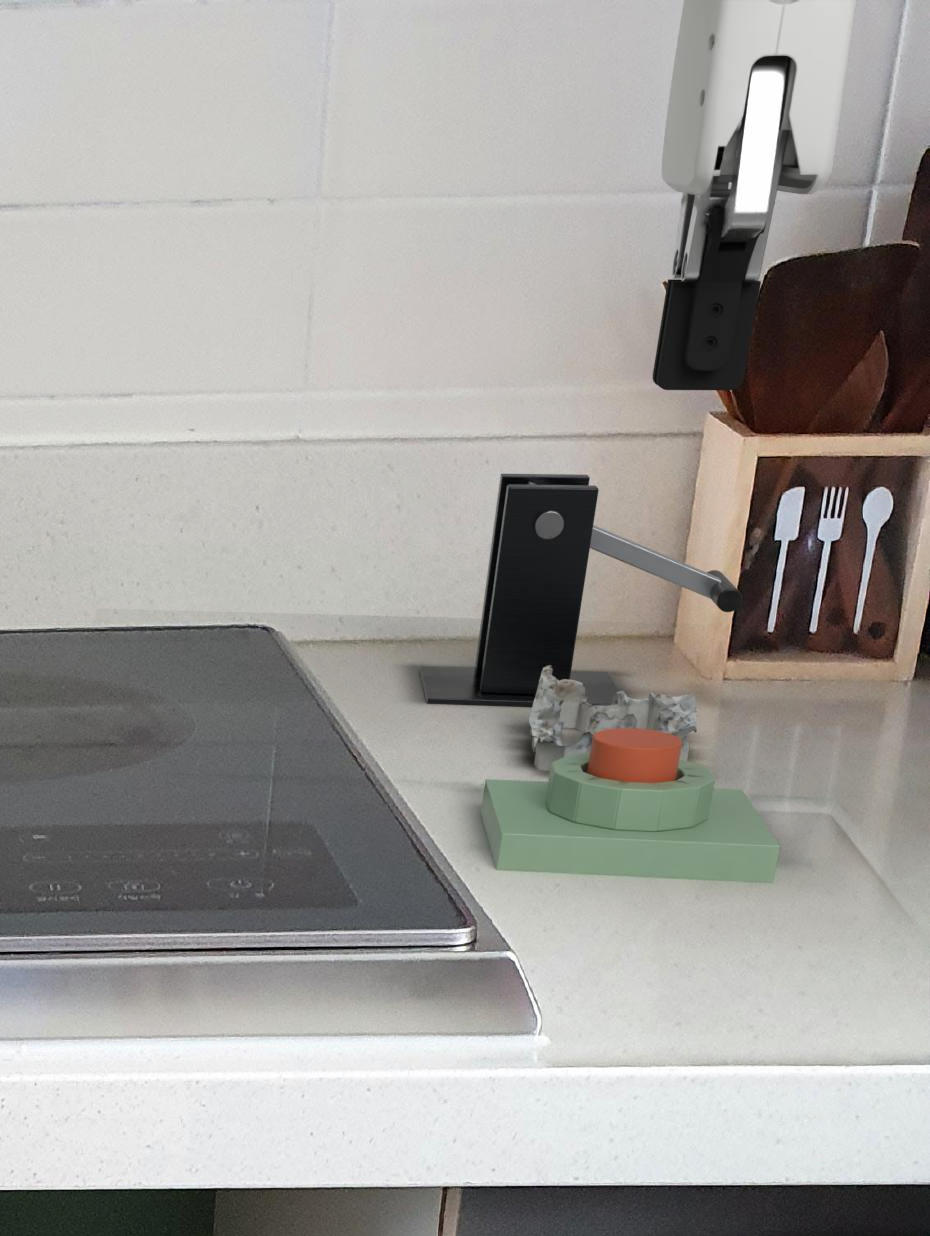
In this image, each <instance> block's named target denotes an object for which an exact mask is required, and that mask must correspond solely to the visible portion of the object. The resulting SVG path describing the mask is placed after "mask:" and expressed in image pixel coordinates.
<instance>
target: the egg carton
mask: <svg viewBox="0 0 930 1236" xmlns="http://www.w3.org/2000/svg"><path fill="white" fill-rule="evenodd" d="M552 672H553V669H552V668H551V665H549V666H548V665H547V666H545V667H544V668H543V670H542V672H541V676H540V680H539V684H538V689H537V692H536V696H535V699H534V702H533V706H532V707H531V711H530V714H529V717H528V721H529V726H530V730H529V736H530V737H532V741H531V749H532V752H533V753H535V755H534V761H533V762H534V763H533V766H534V767H535V768H536V769H537V770H538V771H539V770H540V771H546V772H550V767H551V763H552V762H554V761H556V760H558V759H561V758H563V757H565V756H567V755H571V754H581V753H590V751H591V744H592V738H593V735H594V734H595V733H596V732H599V731H602V730H607V729H618V728H634V729H647V730H655V731H660V732H665V733H669V734H672V735H674V736H677V737H679V738H680V739H681V740H682V747H681V753H680V759H683V760H686V761H688V758H689V754H690V753H689V752H690V745H691V744H690V742H689V739H688V738H687V735H688V734H689V733H692V732H694V733H697V731H698V729H697V726H698V723H697V721H698V714H697V697H696V694H695V693H692V692H691V693H686V694H682V695H676V696H672V695H671V696H670V695H667V694H662V693H658V694H656V693H655V692H650V694H649V695H648V697H647V698H641V699H639V698H631V697H629V696H628V694H626V691H625V690H619V691H618V692H617V693H616V694H615V695H614V696H613V701H612V704H611V705H609V706H602V705H600V706H592V705H591V704H589V703H588V702H586V700H587V696H586V691H585V686H584V685H583V683H581V682H578V681H575V680H570V679H562V680H560V681H559V680H558V679H556V678H555V677H554V676H552ZM563 728H565V729H575V730H576V731H577V730H578V731H579V732H582V733H581V736H580V738H579V739H578V741H577V742H575V743H573V744H569V745H567V744H565V745H564V744H563V742H562V734H563Z"/></svg>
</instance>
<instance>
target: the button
mask: <svg viewBox="0 0 930 1236" xmlns="http://www.w3.org/2000/svg"><path fill="white" fill-rule="evenodd" d="M681 747H682V740H681V739H680V738H679V737H677V736H674V735H672V734H669V733H665V732H660V731H655V730H647V729H634V728H618V729H607V730H602V731H599V732H596V733H595V734H594V735H593V738H592V744H591V751H590V757H589V763H588V770H587V774H590V775H593V776H595V777H598V778H603V779H609V780H615V781H621V782H638V783H660V782H670V781H676V776H677V770H678V764H679V759H680V753H681Z"/></svg>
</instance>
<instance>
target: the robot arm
mask: <svg viewBox="0 0 930 1236" xmlns="http://www.w3.org/2000/svg"><path fill="white" fill-rule="evenodd" d="M857 5H858V0H683V6H682V11H681V17H680V21H679V22H680V23H679V29H678V36H677V40H676V41H677V42H676V48H675V54H674V61H673V67H672V68H673V69H672V75H671V83H670V89H669V97H668V103H667V104H668V105H667V112H666V120H665V128H664V137H663V146H662V154H661V155H662V157H661V178H662V180H663V182H664V183H665V184H666V185H667V186H668V187H669V188H671V189H672V190H674V191H675V192H678V193H682V197H681V200H680V211H679V217H678V225H677V233H676V240H675V247H674V255H673V261H672V272H671V273H672V274H671V277H672V278H671V279H667V282H666V287H665V288H666V289H665V294H664V295H665V296H664V302H663V307H662V312H661V313H662V314H661V320H660V327H659V333H658V338H657V344H656V351H655V359H654V363H653V364H654V365H653V370H652V380H653V381H652V382H653V383H654V384H655V385H656V386H658V388H660V389H662V390H663V391H664V390H665V391H736V390H737V389H739V388H740V387H742V385H743V384H744V380H745V375H746V371H747V370H746V369H747V364H748V358H749V352H750V346H751V341H752V335H753V330H754V324H755V318H756V312H757V307H758V301H759V295H760V289H761V284H762V281H760V280H759V279H760V276H761V273H762V268H763V263H764V259H765V253H766V248H767V244H768V238H769V233H770V229H771V224H772V218H773V214H774V208H775V205H776V199H777V194H778V193H777V192H783V193H791V194H797V195H813V194H815V193H816V192H818V191H819V190H821V189H822V188H823V187H824V186H825V185H826V184H827V183H828V182H829V180H830V178H831V176H832V174H833V168H834V163H835V157H836V149H837V143H838V135H839V129H840V121H841V115H842V109H843V108H842V107H843V102H844V94H845V88H846V80H847V73H848V67H849V61H850V54H851V47H852V39H853V33H854V28H855V27H854V26H855V19H856V11H857ZM730 183H731V184H730ZM729 185H730V188H729Z"/></svg>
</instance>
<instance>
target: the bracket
mask: <svg viewBox="0 0 930 1236" xmlns="http://www.w3.org/2000/svg"><path fill="white" fill-rule="evenodd" d="M590 480H591V478H590V475H588V474H573V473H571V474H568V473H567V474H565V473H564V474H563V473H562V474H561V473H559V474H558V473H557V474H556V473H500V477H499V483H498V484H499V485H498V491H497V500H496V507H495V514H494V521H493V529H492V537H491V542H490V543H491V545H490V551H489V559H488V567H487V573H486V582H485V588H484V597H483V604H482V612H481V618H480V619H481V620H480V628H479V635H478V641H477V649H476V657H475V663H474V667H463V666H462V667H459V666H457V667H456V666H431V665H429V666H427V665H426V666H425V665H421V666H419V675H420V676H419V677H420V681H421V684H422V688H423V693H424V697H425V701H426V704H427V705H449V706H450V705H453V706H477V707H478V706H481V707H507V708H508V707H509V708H510V707H511V708H532V706H533V702H534V699H535V696H536V692H537V689H538V684H539V680H540V676H541V672H542V670H543V668H544V667H545V666H547V665H548V666H549V665H551V668H552V669H553V672H552V676H554V677H555V678H556V679H558V680H559V681H560V680H562V679H570V680H575V681H578V682H581V683H583V685H584V686H585V691H586V696H587V700H586V702H588V703H589V704H591V705H592V706H600V705H602V706H609V705H611V704H612V701H613V696H614V695H615V694H616V693H617V692H618V691H620V690H619V689H618V687H617V685H616V683H615V682H614V680H613V678H612V676H611V675H610V673H609V671H597V670H596V671H594V670H592V671H591V670H590V671H589V670H572V669H573V662H574V655H575V648H576V641H577V635H578V629H579V621H580V615H581V610H582V609H581V608H582V603H583V595H584V590H585V583H586V574H587V569H588V563H589V555H590V550H591V548H590V544H591V537H592V530H593V525H594V523H595V518H596V510H597V504H598V497H599V488H598V486H597V485H590ZM528 482H532V483H535V484H537V485H527V484H528Z"/></svg>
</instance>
